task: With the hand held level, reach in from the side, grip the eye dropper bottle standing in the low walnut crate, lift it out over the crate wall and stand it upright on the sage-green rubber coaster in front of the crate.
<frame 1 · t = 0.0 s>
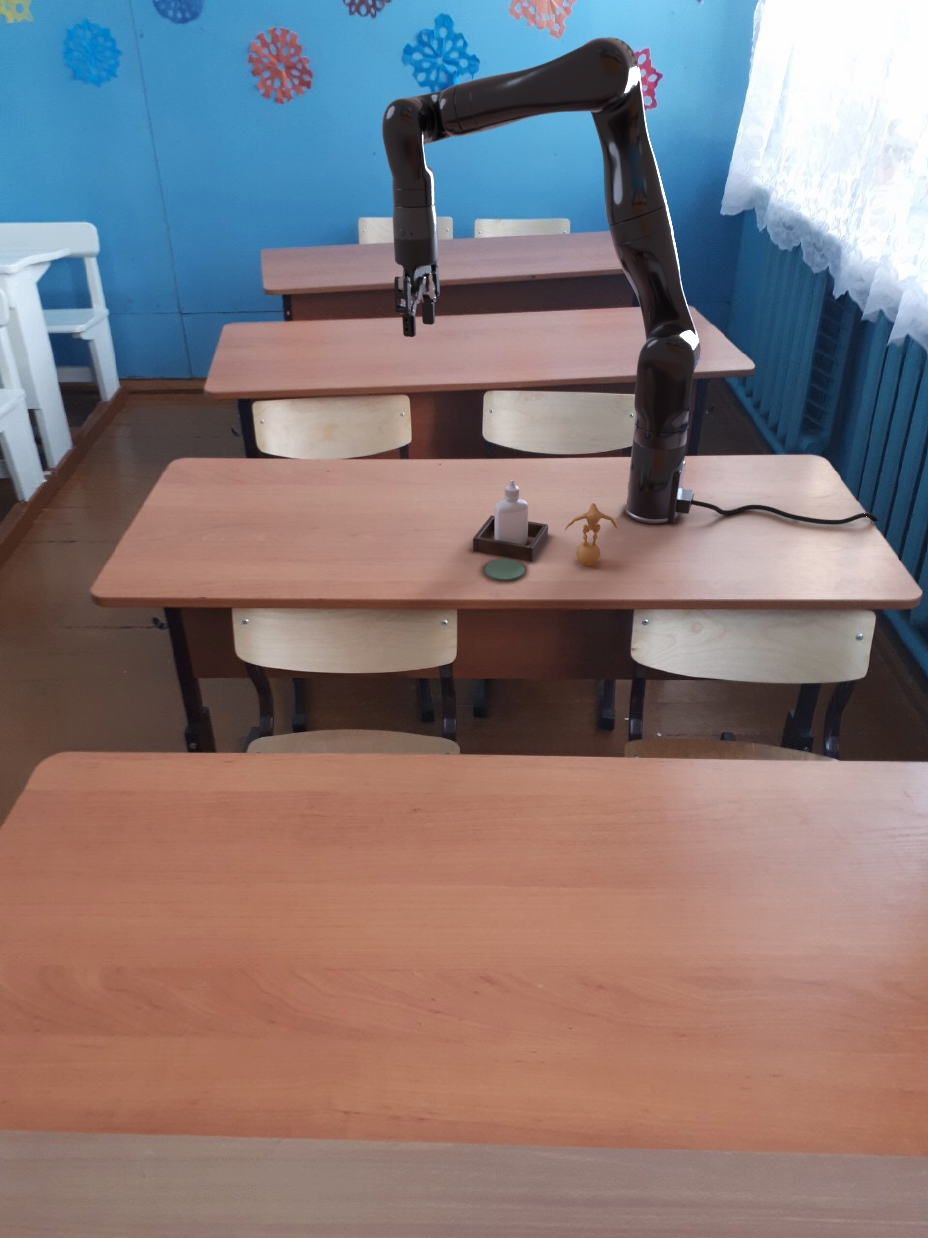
hand: (419, 329, 158), 29 cm above the table, tool pointing down, fingers open, 8 cm apart
eye dropper bottle: (510, 544, 151), resting in crate
coaster: (504, 570, 144), on the table
crate: (510, 543, 151), on the table
figurine: (587, 568, 144), on the table
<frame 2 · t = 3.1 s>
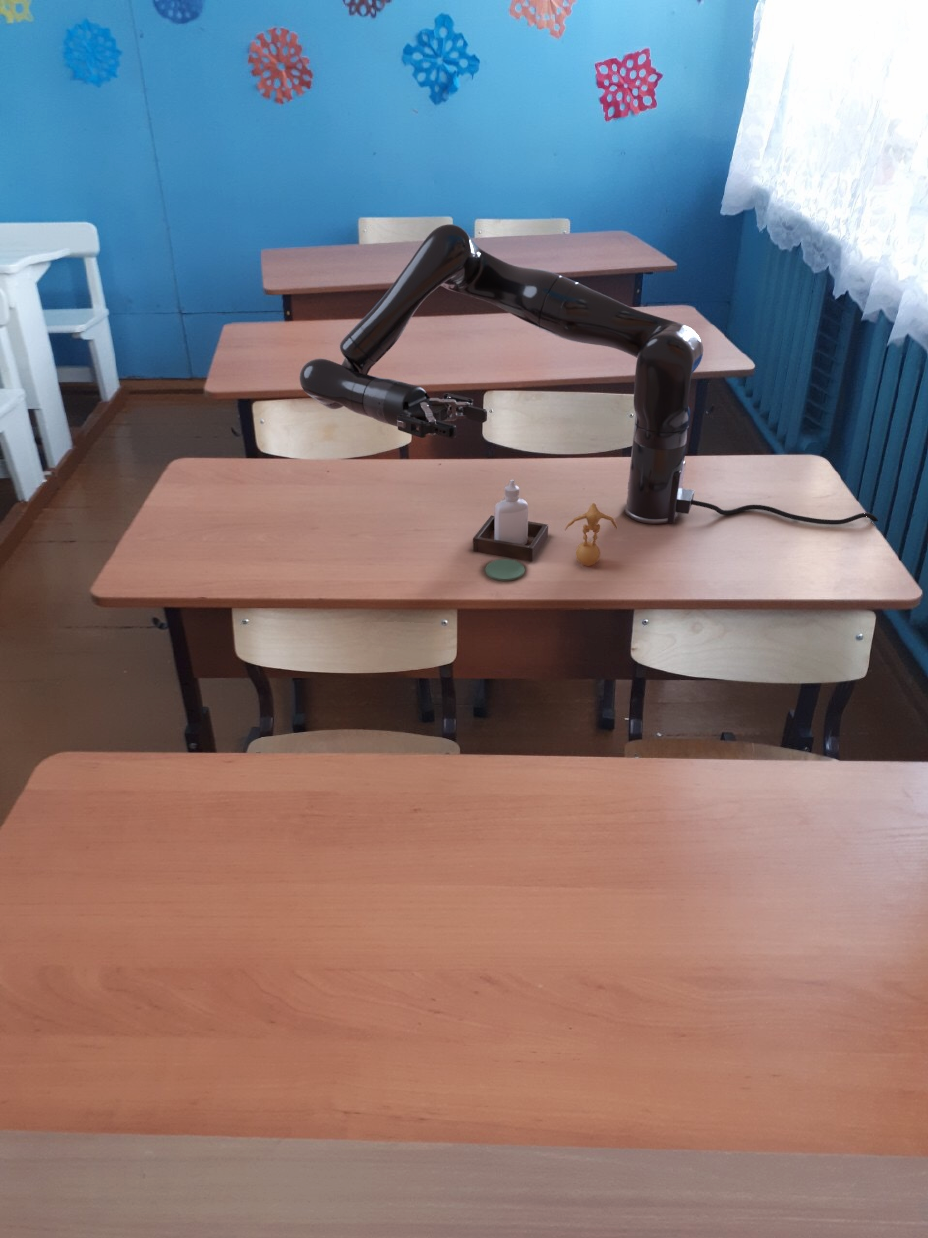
hand: (470, 424, 144), 20 cm above the table, tool horizontal, fingers open, 8 cm apart
nothing on the table moved.
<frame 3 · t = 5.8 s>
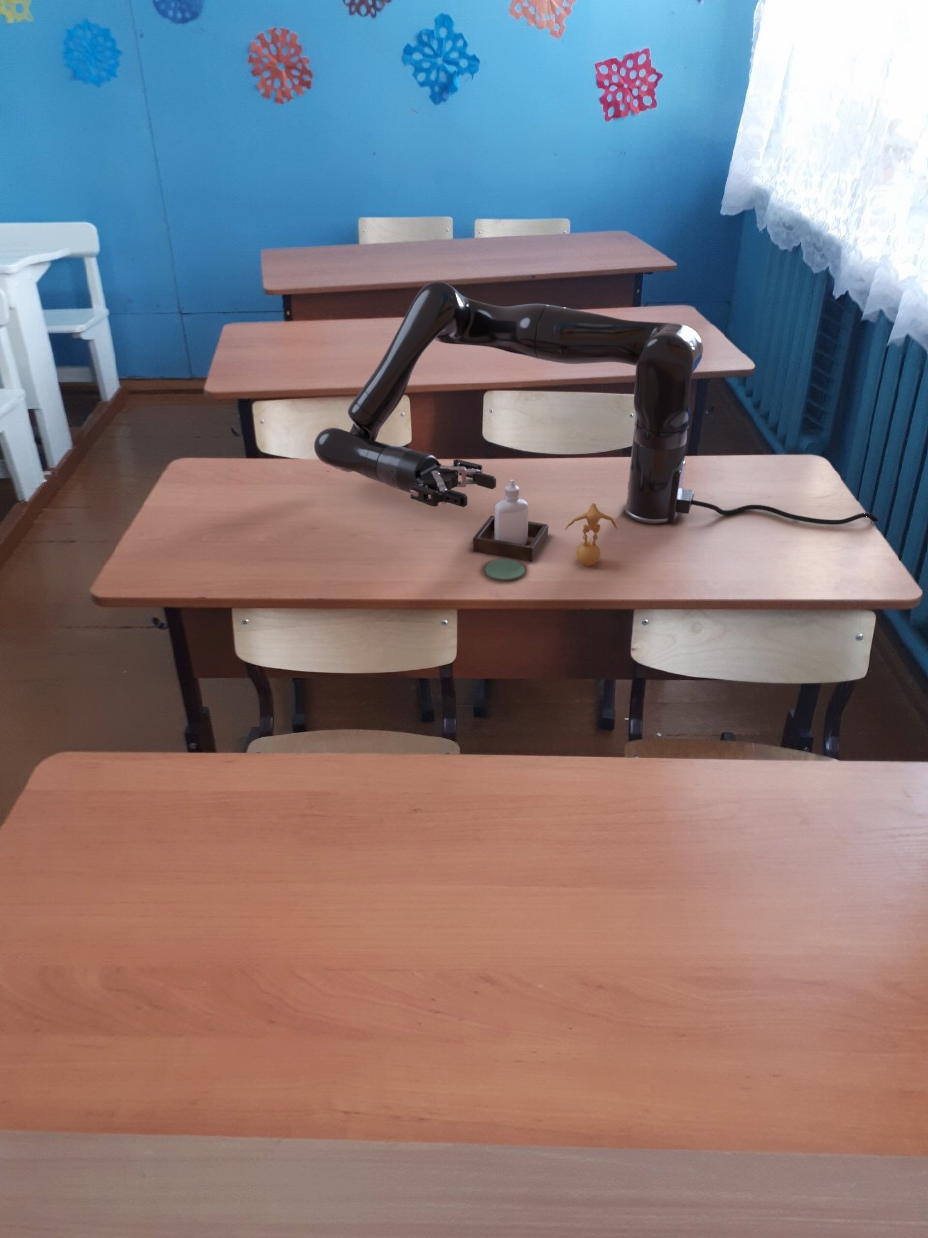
hand: (480, 492, 150), 8 cm above the table, tool horizontal, fingers open, 8 cm apart
nothing on the table moved.
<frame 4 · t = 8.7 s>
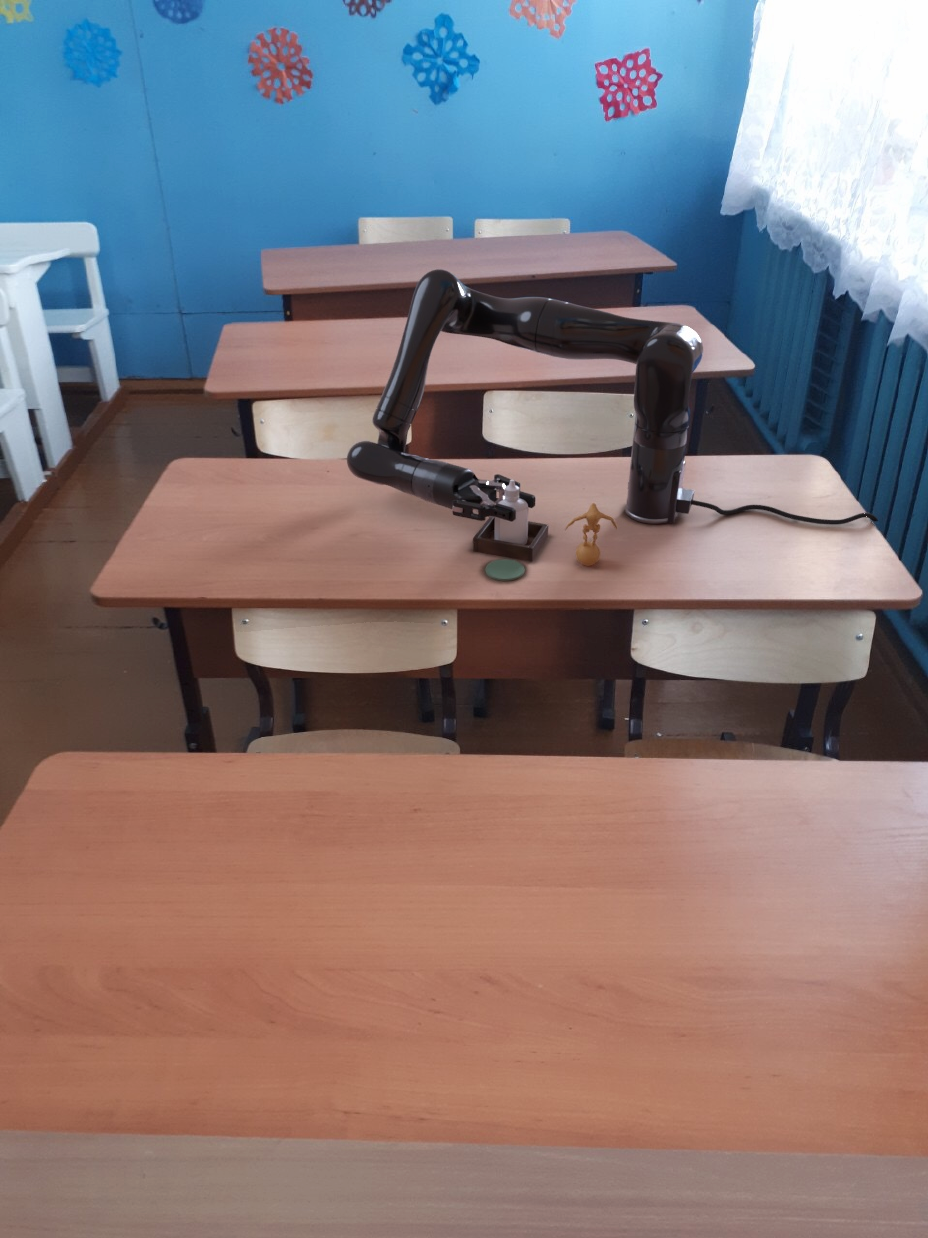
hand: (524, 508, 146), 8 cm above the table, tool horizontal, fingers closed on eye dropper bottle, 5 cm apart
eye dropper bottle: (510, 544, 151), resting in crate, touching gripper
everything else where it was.
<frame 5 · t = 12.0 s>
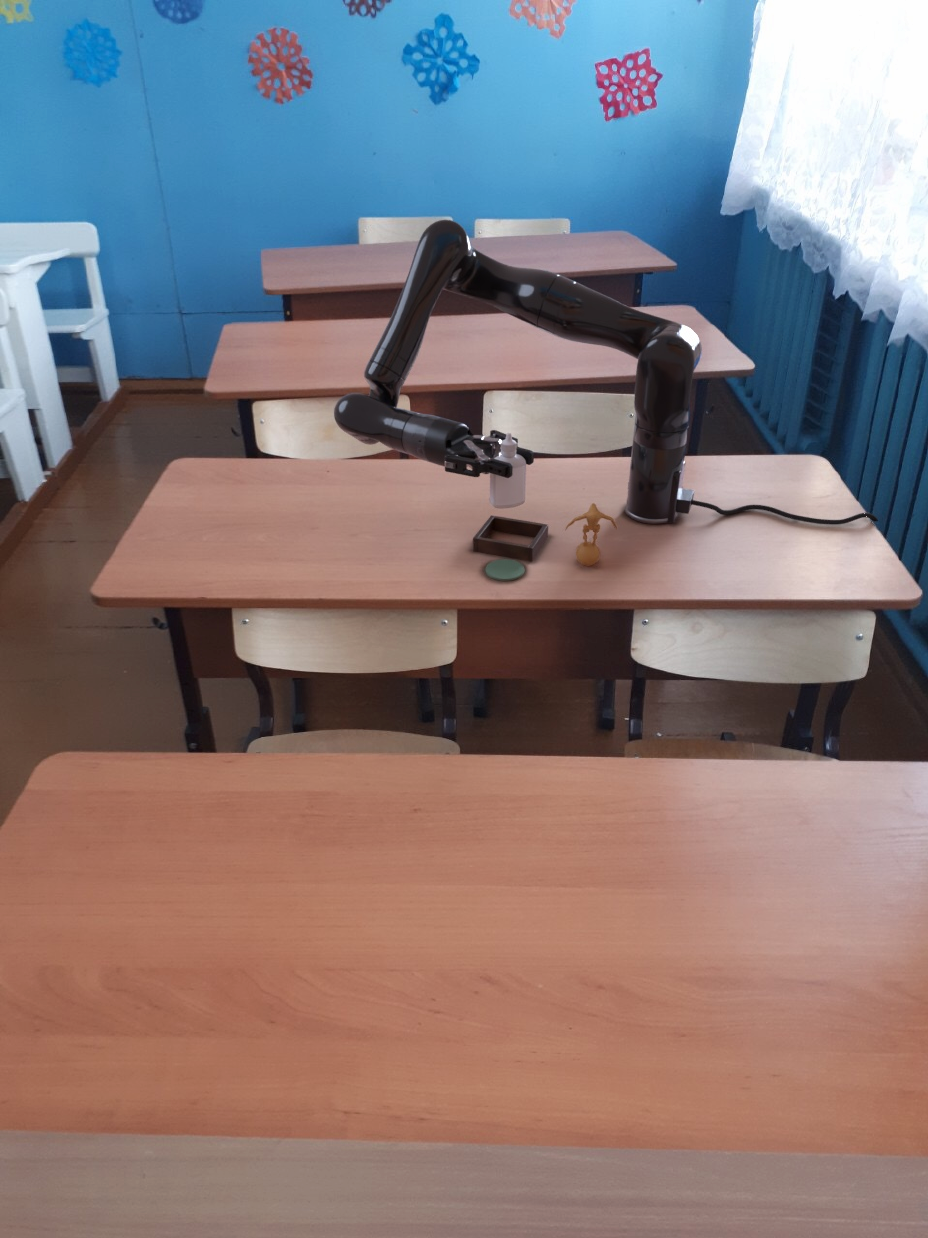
hand: (521, 464, 136), 18 cm above the table, tool horizontal, fingers closed on eye dropper bottle, 5 cm apart
eye dropper bottle: (507, 504, 141), point 10 cm above the table, touching gripper
everything else where it was.
when the fingers open (8 cm above the table, at t = 15.7 s): eye dropper bottle stays where it is, resting on coaster.
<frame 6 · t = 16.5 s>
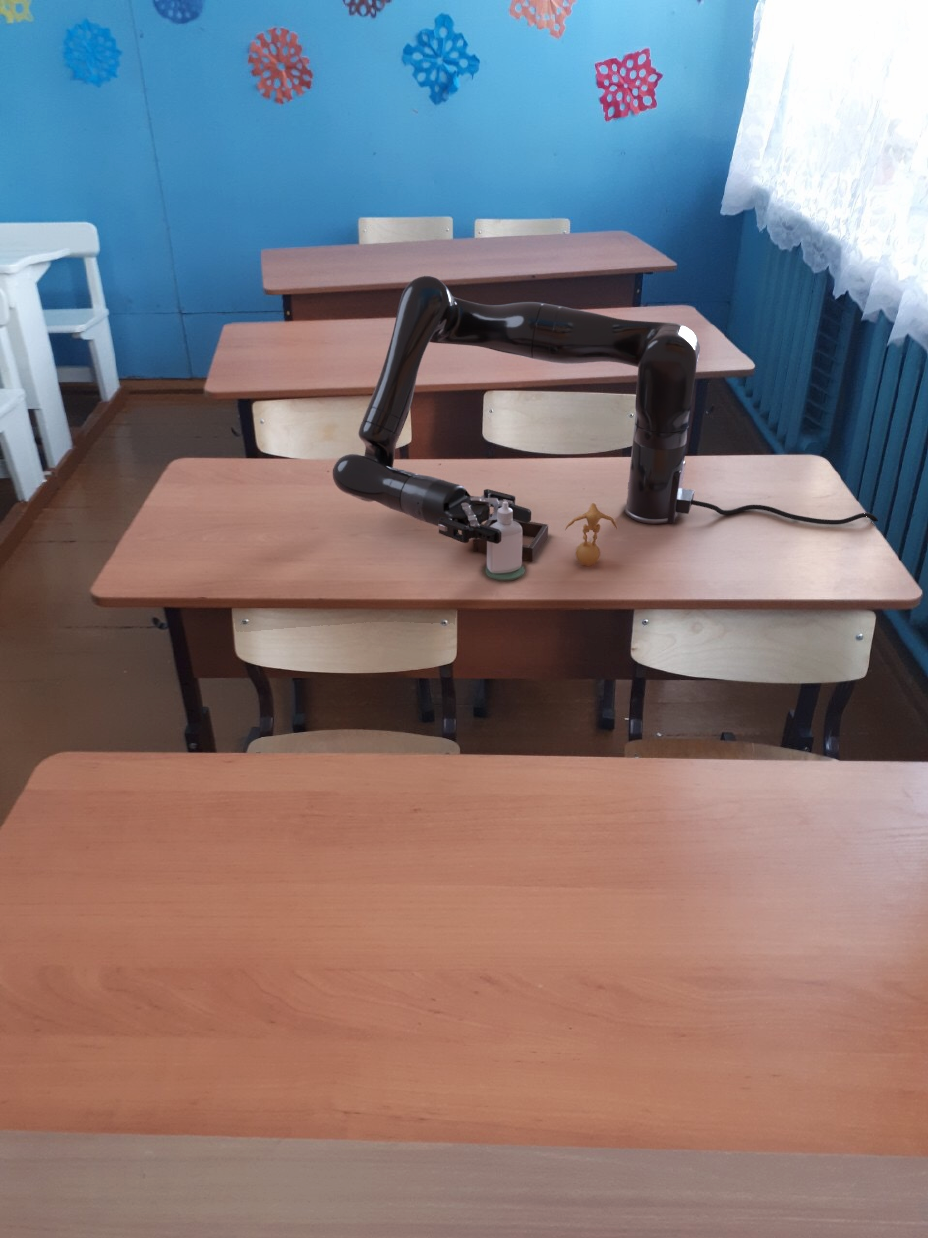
hand: (515, 526, 138), 9 cm above the table, tool horizontal, fingers open, 8 cm apart
eye dropper bottle: (504, 569, 144), resting on coaster
everything else where it was.
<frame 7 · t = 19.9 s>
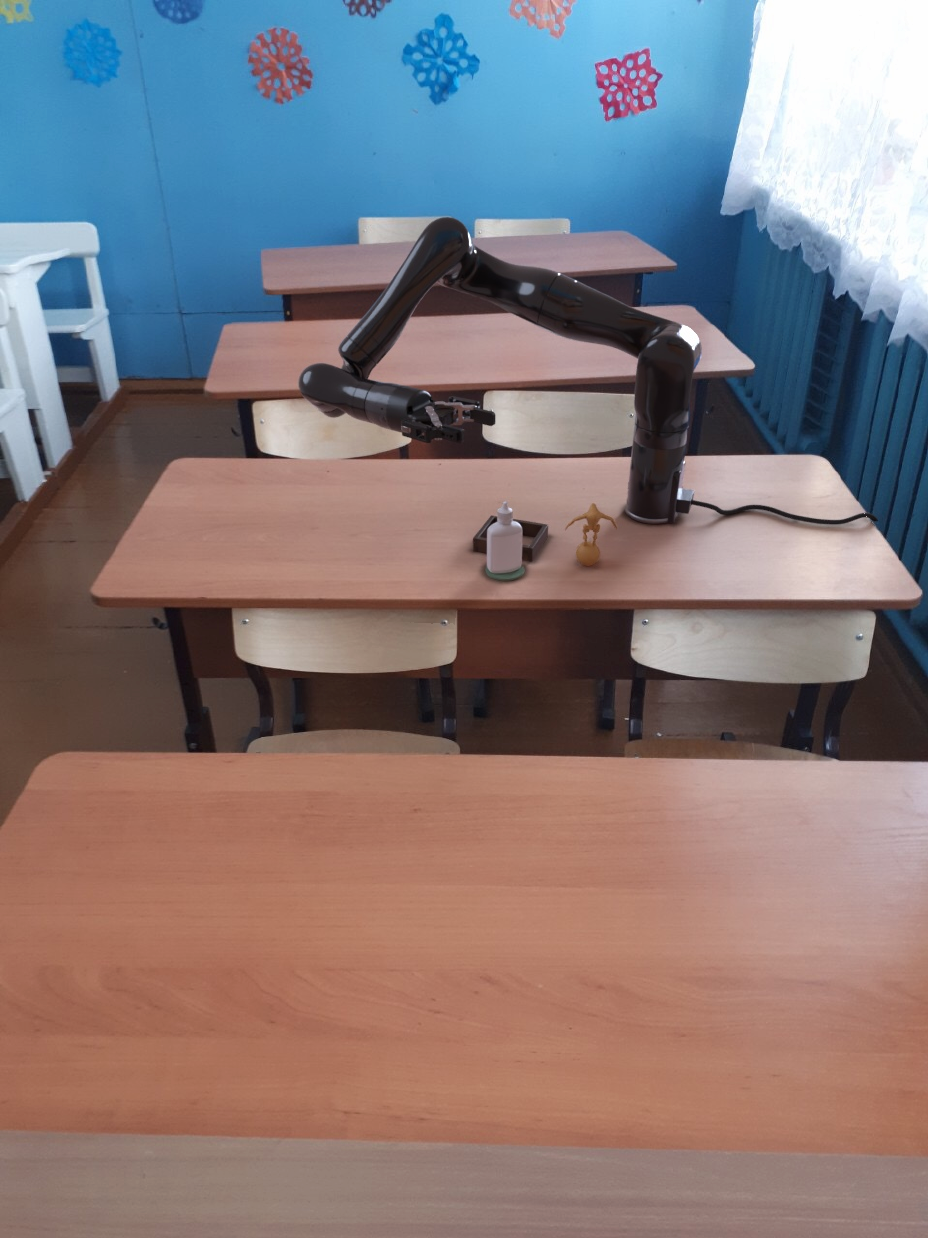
hand: (478, 427, 137), 22 cm above the table, tool horizontal, fingers open, 8 cm apart
nothing on the table moved.
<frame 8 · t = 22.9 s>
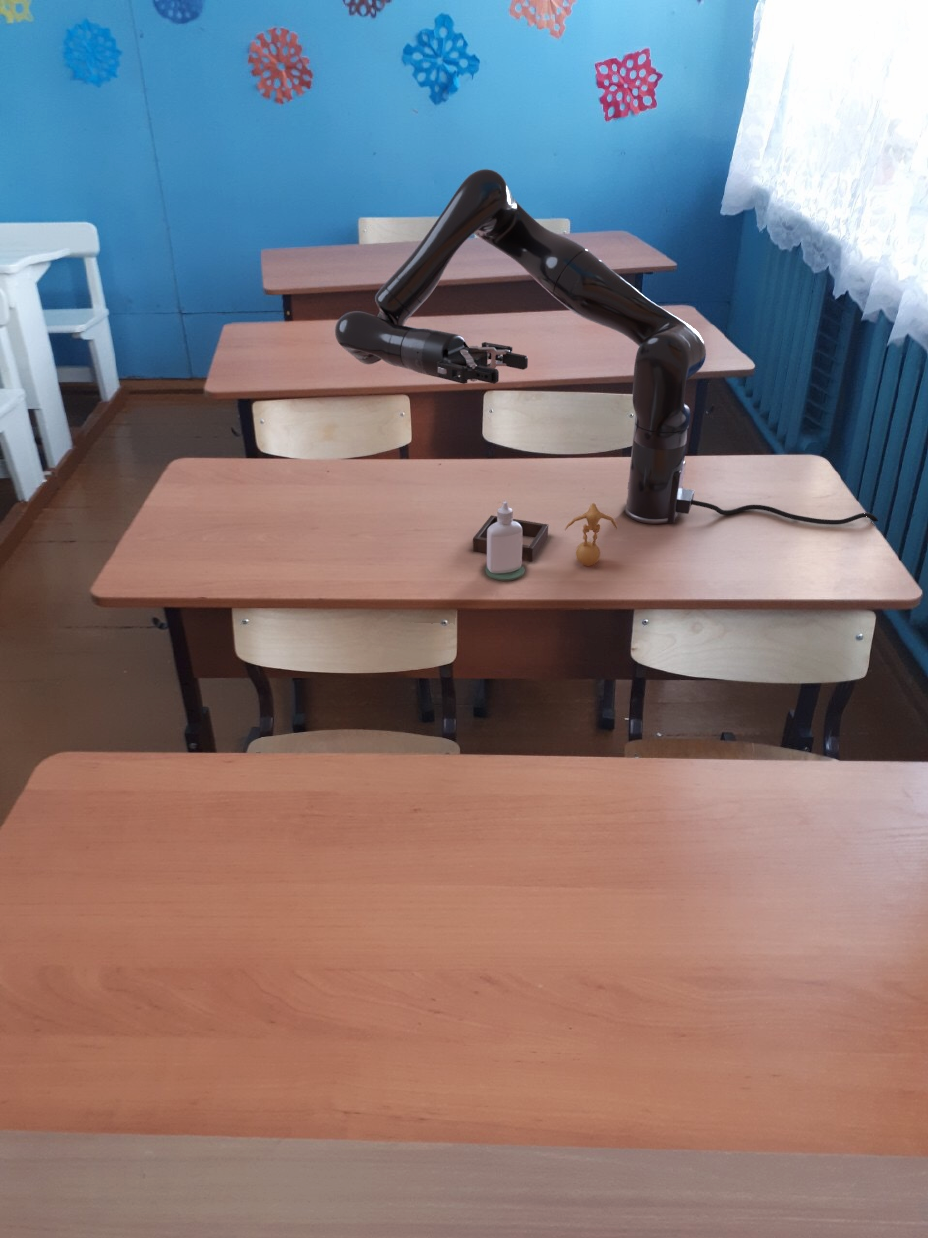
hand: (512, 369, 142), 28 cm above the table, tool horizontal, fingers open, 8 cm apart
nothing on the table moved.
at the end: eye dropper bottle 0.1 cm off-centre on the coaster, point 0.2 cm above the coaster's base; eye dropper bottle tilted 0°; the gripper is holding nothing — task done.
